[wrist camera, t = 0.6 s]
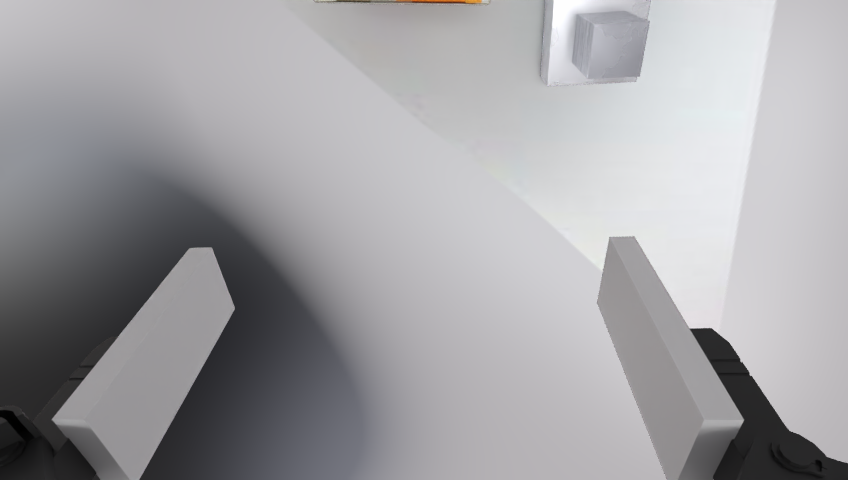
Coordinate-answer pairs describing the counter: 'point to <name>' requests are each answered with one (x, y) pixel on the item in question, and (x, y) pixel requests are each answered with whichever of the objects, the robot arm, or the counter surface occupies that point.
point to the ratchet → (593, 41)
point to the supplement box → (411, 2)
